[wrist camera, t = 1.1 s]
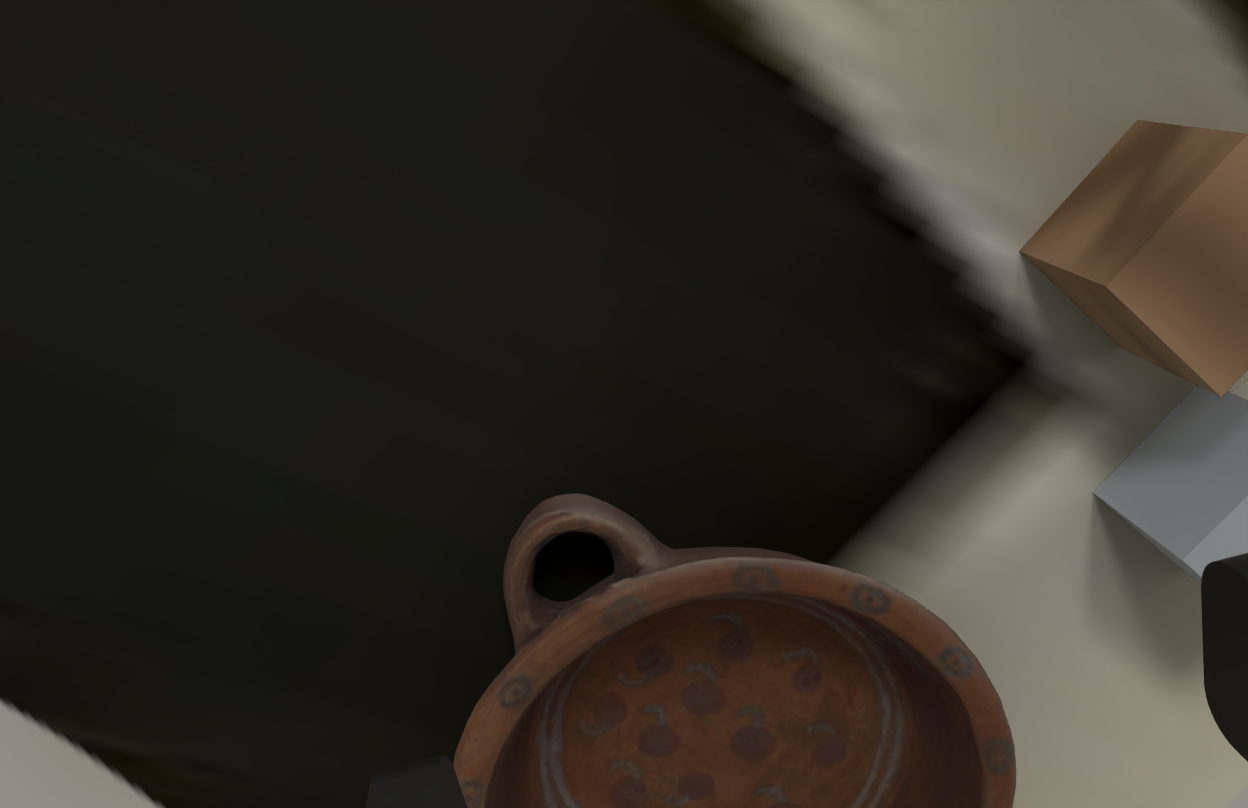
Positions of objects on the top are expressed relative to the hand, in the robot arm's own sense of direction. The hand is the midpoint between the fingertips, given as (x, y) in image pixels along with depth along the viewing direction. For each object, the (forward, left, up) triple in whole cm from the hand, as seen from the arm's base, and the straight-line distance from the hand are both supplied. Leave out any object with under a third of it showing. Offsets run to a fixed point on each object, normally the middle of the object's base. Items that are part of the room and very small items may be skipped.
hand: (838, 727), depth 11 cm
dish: (+10, +13, -22) cm, 27 cm away
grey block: (-7, +20, -22) cm, 30 cm away
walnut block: (-11, +12, -22) cm, 27 cm away
